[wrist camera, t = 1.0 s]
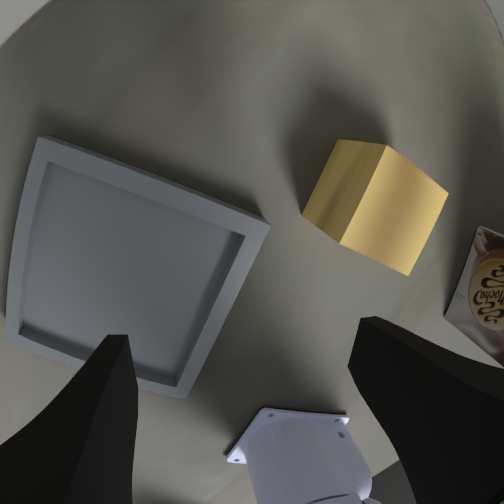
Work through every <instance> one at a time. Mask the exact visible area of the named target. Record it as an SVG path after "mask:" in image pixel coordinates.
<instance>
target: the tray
mask: <svg viewBox="0 0 504 504" xmlns="http://www.w3.org/2000/svg"><path fill="white" fill-rule="evenodd" d="M270 227H271V225H270V224H269V223H268V222H267V221H266V220H265V219H264V218H263V217H260V216H258V215H255V214H253V213H251V212H248V211H246V210H243V209H241V208H239V207H236V206H234V205H231V204H229V203H226V202H224V201H221V200H219V199H216V198H214V197H212V196H209V195H207V194H204V193H202V192H199V191H197V190H194V189H192V188H189V187H186V186H184V185H181V184H179V183H176V182H174V181H171V180H169V179H166V178H163V177H161V176H158V175H156V174H153V173H150V172H148V171H145V170H143V169H140V168H137V167H135V166H132V165H129V164H127V163H124V162H121V161H119V160H116V159H113V158H111V157H108V156H105V155H102V154H100V153H97V152H94V151H91V150H89V149H86V148H83V147H80V146H78V145H75V144H72V143H69V142H66V141H63V140H61V139H58V138H55V137H52V136H38V138H37V141H36V145H35V148H34V151H33V154H32V158H31V161H30V165H29V168H28V172H27V176H26V180H25V184H24V188H23V192H22V196H21V201H20V205H19V210H18V215H17V220H16V226H15V232H14V238H13V244H12V251H11V259H10V267H9V276H8V288H7V302H6V330H5V340H6V341H8V342H10V343H12V344H15V345H17V346H19V347H21V348H24V349H26V350H28V351H31V352H33V353H35V354H38V355H40V356H43V357H45V358H48V359H50V360H53V361H55V362H58V363H60V364H63V365H66V366H68V367H71V368H74V369H77V370H79V369H80V368H81V367H82V366H83V365H84V363H85V362H86V361H87V360H88V358H89V357H90V356H91V354H92V353H93V352H94V351H95V349H96V348H97V347H98V346H99V344H100V343H101V342H102V341H103V339H104V338H105V337H106V336H107V335H108V334H128V337H129V343H130V349H131V354H132V359H133V364H134V369H135V374H136V379H137V383H138V389H141V390H145V391H149V392H153V393H156V394H161V395H165V396H169V397H173V398H178V399H182V400H186V399H187V397H188V395H189V393H190V391H191V389H192V387H193V385H194V383H195V381H196V379H197V377H198V375H199V373H200V371H201V369H202V367H203V365H204V363H205V361H206V359H207V356H208V354H209V352H210V350H211V348H212V346H213V344H214V342H215V340H216V338H217V336H218V334H219V332H220V330H221V328H222V326H223V324H224V322H225V320H226V318H227V316H228V314H229V312H230V309H231V307H232V305H233V303H234V301H235V299H236V297H237V295H238V293H239V291H240V289H241V287H242V285H243V283H244V281H245V279H246V277H247V275H248V272H249V270H250V268H251V266H252V264H253V262H254V260H255V258H256V256H257V254H258V252H259V250H260V248H261V246H262V244H263V242H264V239H265V237H266V235H267V233H268V231H269V229H270Z"/></svg>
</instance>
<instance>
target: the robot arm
mask: <svg viewBox="0 0 504 504" xmlns="http://www.w3.org/2000/svg"><path fill="white" fill-rule="evenodd" d="M348 368H349V371H350V373H351V375H352V378H353V380H354V382H355V384H356V386H357V388H358V390H359V392H360V394H361V395H362V397H363V399H364V400H365V402H366V403H367V405H368V406H369V408H370V410H371V411H372V413H373V414H374V416H375V417H376V419H377V420H378V422H379V423H380V425H381V427H382V428H383V430H384V431H385V433H386V434H387V436H388V437H389V439H390V441H391V443H392V444H393V446H394V448H395V450H396V452H397V455H398V457H399V459H400V461H401V463H402V465H403V468H404V470H405V472H406V475H407V477H408V480H409V482H410V485H411V488H412V490H413V493H414V497H415V499H416V503H417V504H504V369H502V368H498V367H494V366H490V365H487V364H484V363H481V362H478V361H475V360H472V359H469V358H466V357H464V356H461V355H459V354H456V353H454V352H452V351H449V350H447V349H445V348H443V347H440V346H438V345H436V344H434V343H432V342H430V341H428V340H426V339H424V338H422V337H420V336H418V335H416V334H414V333H412V332H410V331H408V330H406V329H404V328H402V327H400V326H398V325H395V324H393V323H391V322H389V321H387V320H384V319H382V318H379V317H377V316H373V317H366V318H360V323H359V326H358V330H357V334H356V338H355V342H354V345H353V349H352V353H351V356H350V360H349V363H348ZM137 420H138V383H137V379H136V374H135V369H134V364H133V359H132V354H131V349H130V343H129V337H128V334H108V335H107V336H106V337H105V338H104V339H103V341H102V342H101V343H100V344H99V346H98V347H97V348H96V349H95V351H94V352H93V353H92V354H91V356H90V357H89V358H88V360H87V361H86V362H85V363H84V365H83V366H82V367H81V368H80V369H79V371H78V372H77V373H76V374H75V375H74V377H73V378H72V379H71V380H70V381H69V383H68V384H67V385H66V386H65V387H64V388H63V389H62V390H61V391H60V393H59V394H58V395H57V396H56V397H55V398H54V399H53V400H52V401H51V402H50V403H49V404H48V406H47V407H46V408H45V409H44V410H43V411H41V412H40V413H39V414H38V415H37V416H36V417H35V418H34V419H33V420H32V421H31V422H29V423H28V424H27V425H26V426H25V427H24V428H22V429H21V430H20V431H18V432H17V433H16V434H15V435H13V436H12V437H11V438H9V439H8V440H7V441H5V442H4V443H3V444H1V445H0V504H133V503H132V470H133V458H134V448H135V438H136V429H137ZM348 421H349V417H348V416H347V415H335V414H321V413H309V412H298V411H289V410H280V409H272V408H263V409H261V410H260V411H259V413H258V414H257V415H256V417H255V418H254V420H253V421H252V422H251V424H250V425H249V427H248V428H247V429H246V431H245V432H244V434H243V435H242V436H241V438H240V439H239V440H238V442H237V443H236V445H235V446H234V447H233V449H232V450H231V451H230V453H229V454H228V455H227V457H226V460H227V461H228V462H232V463H246V464H247V467H248V471H249V474H250V478H251V482H252V485H253V489H254V492H255V496H256V499H257V503H258V504H381V503H380V502H379V501H377V500H373V499H371V498H368V496H369V494H370V491H371V485H372V478H371V472H370V469H369V467H368V465H367V463H366V462H365V460H364V458H363V456H362V455H361V453H360V451H359V449H358V448H357V446H356V444H355V442H354V441H353V439H352V437H351V435H350V433H349V432H348V430H347V428H346V426H345V424H346V423H347V422H348Z"/></svg>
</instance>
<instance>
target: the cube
mask: <svg viewBox="0 0 504 504" xmlns="http://www.w3.org/2000/svg"><path fill="white" fill-rule="evenodd" d="M448 194H449V193H447V192H446V191H445V190H444V189H443V188H442V187H440V186H439V185H438V184H437V183H436V182H434V181H433V180H432V179H431V178H430V177H428V176H427V175H426V174H425V173H423V172H422V171H421V170H420V169H418V168H417V167H416V166H414V165H413V164H412V163H411V162H409V161H408V160H407V159H405V158H404V157H403V156H401V155H400V154H399V153H397V152H396V151H395V150H393V149H392V148H391V147H389V146H388V145H384V144H377V143H369V142H361V141H352V140H342V139H338V140H337V142H336V144H335V146H334V149H333V151H332V153H331V155H330V157H329V159H328V161H327V163H326V165H325V167H324V170H323V172H322V174H321V176H320V178H319V180H318V182H317V184H316V186H315V188H314V190H313V192H312V194H311V196H310V199H309V201H308V203H307V205H306V207H305V209H304V211H303V213H302V216H303V217H304V218H306V219H307V220H308V221H310V222H311V223H312V224H314V225H315V226H317V227H318V228H319V229H321V230H322V231H323V232H325V233H326V234H327V235H329V236H330V237H331V238H333V239H334V240H335V241H337V242H338V243H339V244H342V245H344V246H346V247H348V248H350V249H352V250H354V251H357V252H359V253H361V254H363V255H365V256H367V257H369V258H372V259H374V260H376V261H378V262H380V263H382V264H384V265H386V266H388V267H390V268H392V269H395V270H397V271H399V272H401V273H403V274H405V275H407V276H408V275H409V273H410V271H411V269H412V268H413V266H414V264H415V262H416V260H417V258H418V256H419V254H420V253H421V251H422V249H423V247H424V245H425V243H426V241H427V239H428V237H429V235H430V233H431V231H432V229H433V226H434V224H435V222H436V220H437V218H438V216H439V214H440V212H441V209H442V207H443V205H444V203H445V200H446V198H447V196H448Z"/></svg>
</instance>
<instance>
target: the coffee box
mask: <svg viewBox="0 0 504 504" xmlns="http://www.w3.org/2000/svg"><path fill="white" fill-rule="evenodd" d="M444 318H445V319H446V320H447V321H448V322H449V323H451V324H452V325H453V326H454V327H456V328H457V329H458V330H459V331H460V332H462V333H463V334H464V335H466V336H467V337H468V338H469V339H470V340H471V341H473V342H474V343H475V344H476V345H478V346H479V347H480V348H481V349H482V350H484V351H485V352H486V353H487V354H489V355H490V356H491V357H492V358H493V359H495V360H496V361H497V362H498V363H499V364H500V365H502V366H503V367H504V235H502V234H500V233H497V232H495V231H493V230H490V229H488V228H485V227H483V226H478V228H477V230H476V234H475V237H474V241H473V244H472V247H471V250H470V253H469V256H468V259H467V261H466V264H465V267H464V270H463V273H462V275H461V278H460V281H459V283H458V286H457V288H456V291H455V293H454V296H453V298H452V301H451V303H450V305H449V308H448V310H447V312H446V315H445V317H444Z"/></svg>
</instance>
